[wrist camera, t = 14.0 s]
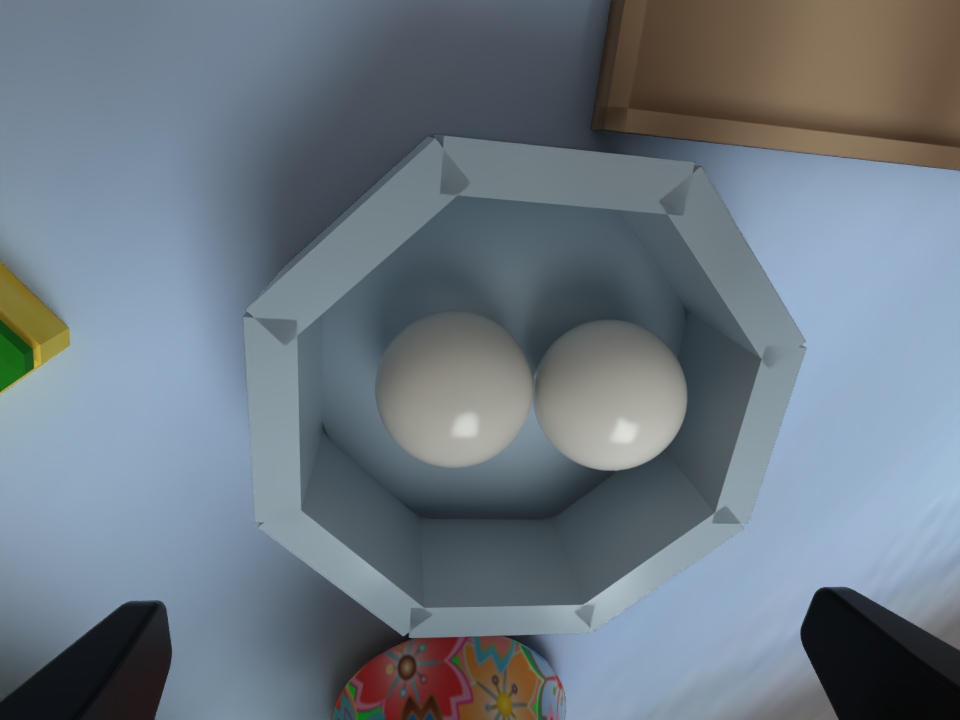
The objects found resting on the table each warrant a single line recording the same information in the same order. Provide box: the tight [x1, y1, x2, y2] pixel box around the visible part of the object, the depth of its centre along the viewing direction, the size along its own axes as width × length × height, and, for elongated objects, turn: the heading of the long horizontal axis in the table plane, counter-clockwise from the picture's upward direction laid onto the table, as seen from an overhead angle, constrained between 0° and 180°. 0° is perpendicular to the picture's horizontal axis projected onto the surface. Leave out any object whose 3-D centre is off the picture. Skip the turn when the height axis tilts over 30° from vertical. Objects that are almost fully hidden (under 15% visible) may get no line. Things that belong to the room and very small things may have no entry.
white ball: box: [533, 319, 687, 471], centre depth 14 cm, size 4×4×4 cm
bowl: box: [243, 134, 806, 638], centre depth 14 cm, size 12×12×4 cm
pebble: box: [375, 310, 533, 468], centre depth 14 cm, size 4×4×4 cm
